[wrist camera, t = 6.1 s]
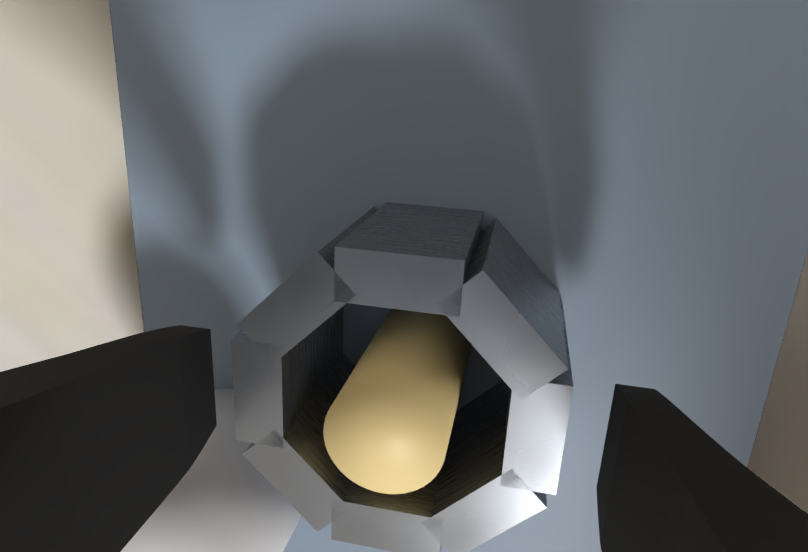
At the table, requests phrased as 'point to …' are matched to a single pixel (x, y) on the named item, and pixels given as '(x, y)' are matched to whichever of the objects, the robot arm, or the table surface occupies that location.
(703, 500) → the robot arm
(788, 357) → the table surface
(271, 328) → the ring
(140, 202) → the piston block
